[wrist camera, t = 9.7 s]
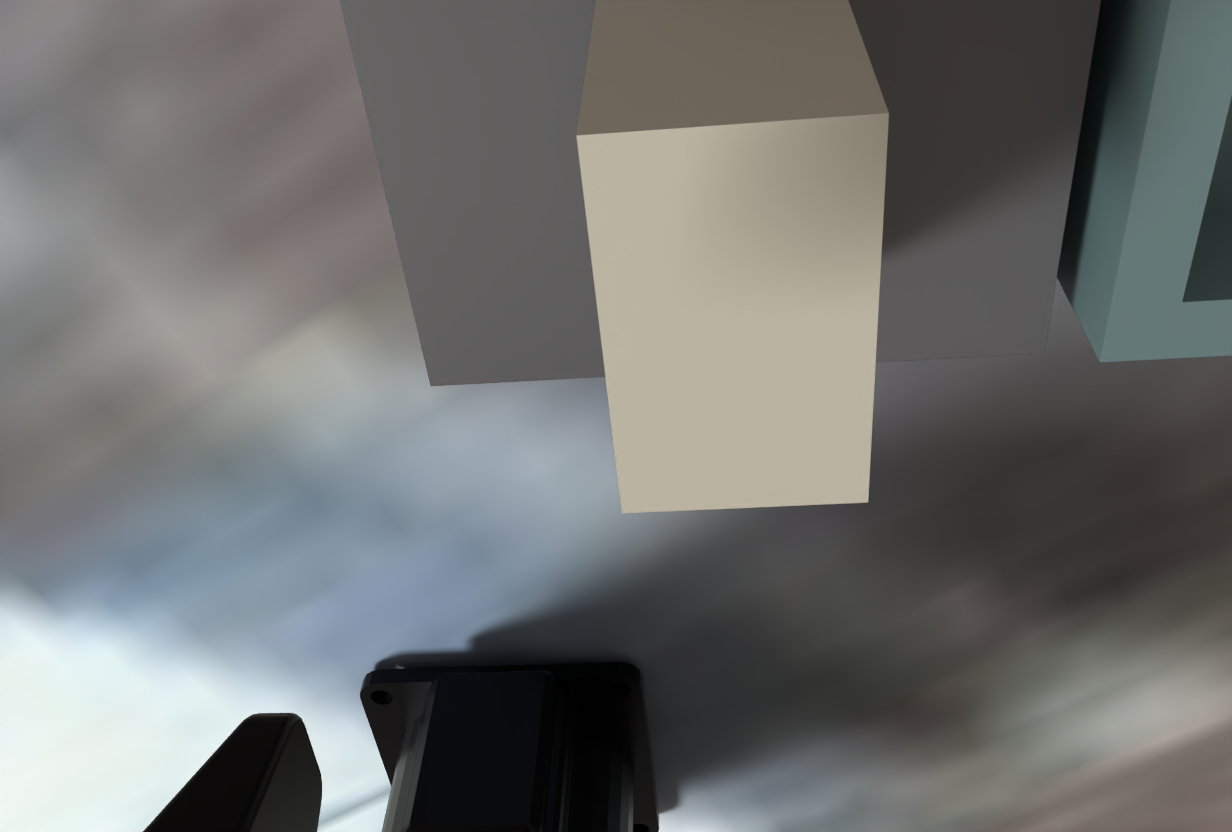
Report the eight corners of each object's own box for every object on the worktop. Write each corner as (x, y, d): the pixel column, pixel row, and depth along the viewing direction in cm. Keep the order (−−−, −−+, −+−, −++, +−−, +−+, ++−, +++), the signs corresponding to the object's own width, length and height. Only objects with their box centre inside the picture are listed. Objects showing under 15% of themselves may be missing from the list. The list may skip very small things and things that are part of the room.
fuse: (811, 222, 20) (868, 502, 14) (634, 233, 20) (621, 513, 14) (816, -90, 17) (889, 112, 11) (606, -72, 17) (575, 135, 11)
